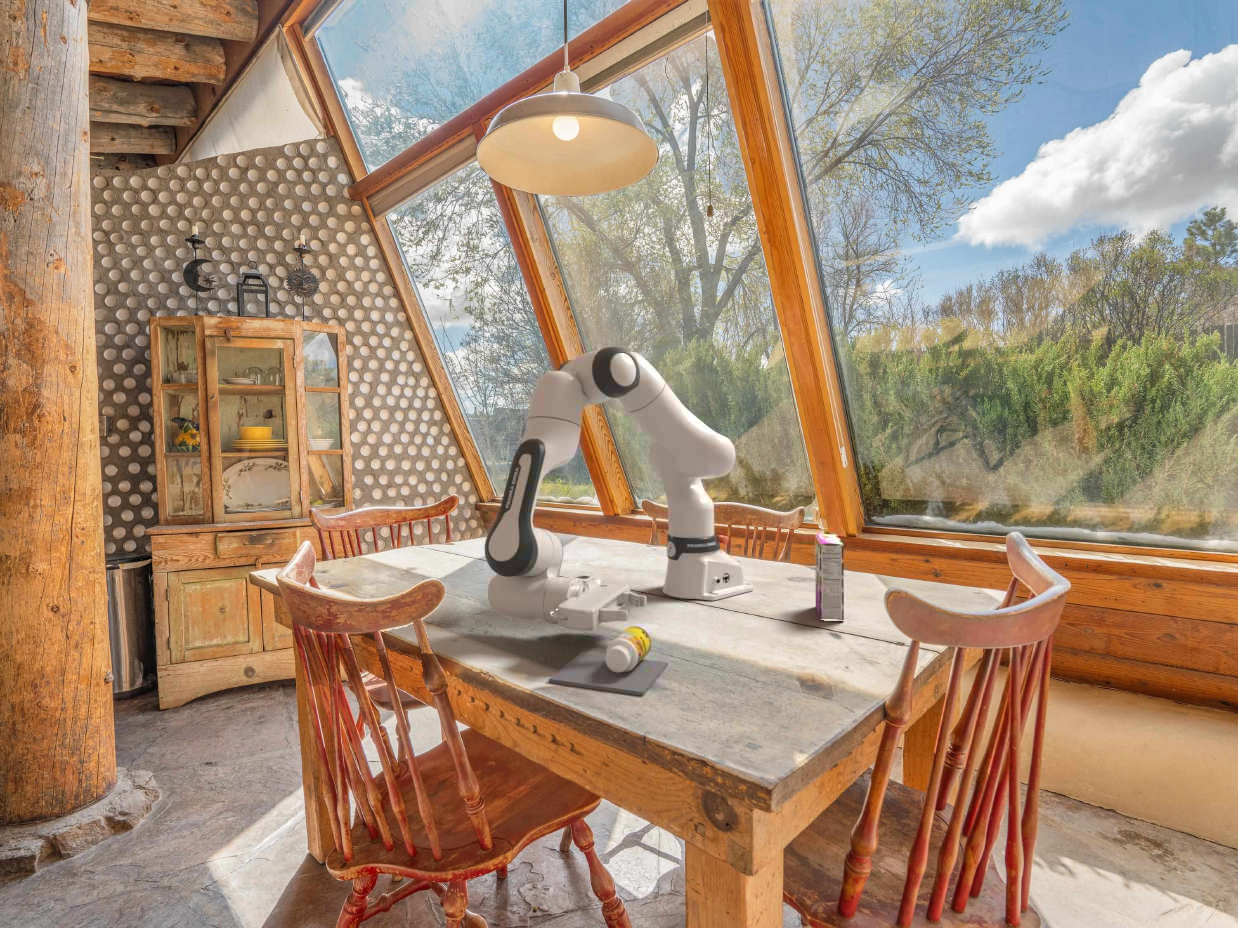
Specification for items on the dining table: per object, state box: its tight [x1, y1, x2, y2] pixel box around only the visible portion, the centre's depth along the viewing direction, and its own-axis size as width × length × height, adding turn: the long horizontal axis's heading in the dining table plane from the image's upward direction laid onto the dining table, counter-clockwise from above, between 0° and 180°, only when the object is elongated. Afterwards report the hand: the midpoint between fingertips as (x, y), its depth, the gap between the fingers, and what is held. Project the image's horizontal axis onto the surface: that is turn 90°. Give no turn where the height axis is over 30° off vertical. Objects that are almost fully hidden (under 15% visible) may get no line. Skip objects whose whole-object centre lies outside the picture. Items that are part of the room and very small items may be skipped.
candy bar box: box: [814, 533, 845, 621], centre depth 138 cm, size 11×5×16 cm, turn 168°
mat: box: [548, 651, 669, 697], centre depth 107 cm, size 13×16×1 cm
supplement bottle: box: [605, 625, 653, 672], centre depth 109 cm, size 6×6×10 cm
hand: (637, 607), depth 117 cm, fingers open, 8 cm apart
